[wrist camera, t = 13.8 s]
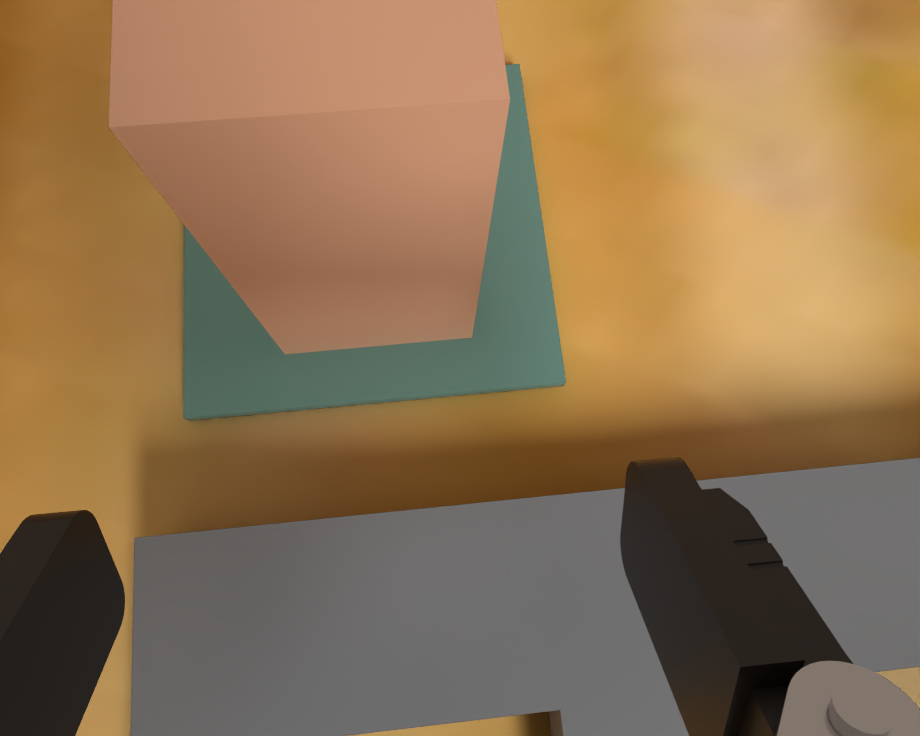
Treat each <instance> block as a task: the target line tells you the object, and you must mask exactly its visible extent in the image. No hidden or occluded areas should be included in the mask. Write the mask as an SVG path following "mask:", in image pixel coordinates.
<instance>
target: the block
mask: <svg viewBox="0 0 920 736" xmlns="http://www.w3.org/2000/svg"><path fill="white" fill-rule="evenodd" d="M509 103H510V95H509V88H508V81H507V74H506V67H505V60H504V53H503V46H502V39H501V32H500V25H499V18H498V11H497V4H496V0H113V9H112V39H111V69H110V99H109V129H110V130H111V131H112V132H113V134H114V135H115V136H116V138H117V139H118V140H119V141H120V143H121V144H122V145H123V147H124V148H125V149H126V150H127V152H128V153H129V154H130V156H131V157H132V158H133V159H134V161H135V162H136V163H137V165H138V166H139V167H140V168H141V170H142V171H143V172H144V174H145V175H146V176H147V177H148V179H149V180H150V181H151V183H152V184H153V185H154V186H155V188H156V189H157V190H158V192H159V193H160V194H161V195H162V197H163V198H164V199H165V201H166V202H167V203H168V205H169V206H170V207H171V208H172V210H173V211H174V212H175V214H176V215H177V216H178V217H179V219H180V220H181V221H182V223H183V224H184V225H185V226H186V228H187V229H188V230H189V232H190V233H191V234H192V235H193V237H194V238H195V239H196V241H197V242H198V243H199V244H200V246H201V247H202V248H203V250H204V251H205V252H206V253H207V255H208V256H209V257H210V259H211V260H212V261H213V262H214V264H215V265H216V266H217V268H218V269H219V270H220V271H221V273H222V274H223V275H224V277H225V278H226V279H227V280H228V282H229V283H230V284H231V286H232V287H233V288H234V289H235V291H236V292H237V293H238V295H239V296H240V297H241V298H242V300H243V301H244V302H245V304H246V305H247V306H248V307H249V309H250V310H251V311H252V313H253V314H254V315H255V316H256V318H257V319H258V320H259V322H260V323H261V324H262V325H263V327H264V328H265V329H266V331H267V332H268V333H269V334H270V336H271V337H272V338H273V340H274V341H275V342H276V343H277V345H278V346H279V347H280V349H281V350H282V351H283V352H284V354H294V353H306V352H317V351H328V350H339V349H350V348H361V347H372V346H383V345H395V344H406V343H417V342H428V341H439V340H450V339H461V338H472V335H473V328H474V322H475V316H476V310H477V303H478V297H479V291H480V285H481V278H482V272H483V266H484V260H485V253H486V247H487V241H488V235H489V228H490V222H491V216H492V210H493V203H494V197H495V191H496V185H497V178H498V172H499V166H500V160H501V153H502V147H503V141H504V135H505V128H506V122H507V116H508V110H509Z"/></svg>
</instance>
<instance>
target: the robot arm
mask: <svg viewBox="0 0 920 736" xmlns="http://www.w3.org/2000/svg"><path fill="white" fill-rule="evenodd" d="M620 547H621V556H622V562H623V566H624V570H625V574H626V577H627V579H628V582H629V584H630V587H631V590H632V592H633V595H634V597H635V600H636V602H637V605H638V607H639V610H640V612H641V615H642V617H643V620H644V623H645V625H646V628H647V630H648V633H649V635H650V638H651V640H652V643H653V645H654V648H655V650H656V653H657V655H658V658H659V661H660V663H661V666H662V668H663V671H664V673H665V676H666V678H667V681H668V683H669V686H670V688H671V691H672V694H673V696H674V699H675V701H676V704H677V706H678V709H679V711H680V714H681V716H682V719H683V721H684V724H685V726H686V729H687V732H688V734H689V736H920V708H919V707H918V706H917V705H916V704H915V703H914V701H913V700H912V699H911V698H910V697H909V696H908V695H907V694H906V693H905V692H903V691H902V690H901V689H900V688H899V687H897V686H896V685H895V684H893V683H892V682H891V681H889V680H888V679H886V678H884V677H882V676H881V675H879V674H877V673H875V672H873V671H871V670H869V669H866V668H864V667H861V666H858V665H855V664H853V662H852V661H851V660H850V658H849V657H848V656H847V655H846V653H845V652H844V650H843V649H842V647H841V646H840V644H839V643H838V641H837V640H836V638H835V637H834V635H833V634H832V632H831V631H830V629H829V628H828V626H827V625H826V623H825V622H824V620H823V619H822V617H821V616H820V615H819V613H818V612H817V610H816V609H815V607H814V606H813V604H812V603H811V601H810V600H809V598H808V597H807V595H806V594H805V592H804V591H803V589H802V588H801V586H800V585H799V583H798V582H797V580H796V579H795V577H794V576H793V574H792V573H791V572H790V570H789V569H788V567H787V566H785V567H784V565H783V560H782V558H781V557H780V555H779V554H778V552H777V551H776V549H775V548H774V546H773V545H772V543H768V540H767V536H766V534H765V533H764V531H763V530H762V529H761V527H760V526H759V524H758V523H757V521H756V520H755V518H754V517H753V515H752V514H751V512H750V511H749V510H748V509H747V508H746V507H744V506H743V505H742V504H740V503H739V502H738V501H736V500H735V499H734V498H732V497H731V496H730V495H729V494H727V493H726V492H725V491H723V490H722V489H721V488H713V489H701V487H700V486H699V484H698V482H697V481H696V479H695V478H694V476H693V474H692V473H691V471H690V469H689V468H688V466H687V464H686V463H685V462H684V461H683V460H682V459H681V458H678V457H677V458H666V459H655V460H644V461H633V462H630V464H629V465H628V468H627V473H626V483H625V493H624V503H623V513H622V523H621V533H620ZM124 608H125V594H124V588H123V584H122V581H121V578H120V576H119V573H118V571H117V568H116V566H115V564H114V561H113V559H112V556H111V554H110V552H109V549H108V547H107V544H106V542H105V540H104V537H103V535H102V532H101V530H100V527H99V525H98V523H97V520H96V518H95V517H94V515H93V514H92V513H91V512H89V511H87V510H80V511H69V512H58V513H47V514H36V515H30V516H29V517H27V518H26V519H24V520H23V522H22V523H21V524H20V526H19V527H18V528H17V530H16V531H15V533H14V534H13V536H12V537H11V539H10V540H9V542H8V543H7V545H6V546H5V548H4V549H3V551H2V552H1V554H0V736H75V735H76V732H77V730H78V727H79V725H80V723H81V720H82V718H83V715H84V713H85V711H86V708H87V706H88V703H89V701H90V699H91V696H92V694H93V691H94V689H95V687H96V684H97V682H98V679H99V677H100V675H101V672H102V670H103V667H104V665H105V663H106V660H107V658H108V655H109V653H110V651H111V648H112V646H113V643H114V641H115V639H116V636H117V634H118V631H119V629H120V626H121V624H122V620H123V615H124Z"/></svg>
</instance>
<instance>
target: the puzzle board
mask: <svg viewBox="0 0 920 736" xmlns="http://www.w3.org/2000/svg"><path fill="white" fill-rule="evenodd" d="M697 482H698V484H699V486H700V487H701V489H713V488H721V489H722V490H723V491H725V492H726V493H727V494H729V495H730V496H731V497H732V498H734V499H735V500H736V501H738V502H739V503H740V504H742V505H743V506H744V507H746V508H747V509H748V510H749V511H750V512H751V514H752V515H753V517H754V518H755V520H756V521H757V523H758V524H759V526H760V527H761V529H762V530H763V531H764V533H765V534H766V536H767V540H768V543H772V545H773V546H774V548H775V549H776V551H777V552H778V554H779V555H780V557H781V558H782V560H783V565H784V567H785V566H787V567H788V569H789V570H790V572H791V573H792V574H793V576H794V577H795V579H796V580H797V582H798V583H799V585H800V586H801V588H802V589H803V591H804V592H805V594H806V595H807V597H808V598H809V600H810V601H811V603H812V604H813V606H814V607H815V609H816V610H817V612H818V613H819V615H820V616H821V617H822V619H823V620H824V622H825V623H826V625H827V626H828V628H829V629H830V631H831V632H832V634H833V635H834V637H835V638H836V640H837V641H838V643H839V644H840V646H841V647H842V649H843V650H844V652H845V653H846V655H847V656H848V657H849V658H850V660H851V661H852V662H853V664H855V665H858V666H861V667H864V668H866V669H869V670H871V671H873V672H880V671H888V670H896V669H905V668H913V667H920V458H913V459H904V460H894V461H884V462H874V463H864V464H855V465H845V466H835V467H825V468H815V469H806V470H796V471H786V472H776V473H766V474H757V475H747V476H737V477H727V478H717V479H708V480H698V481H697ZM624 493H625V488H619V489H610V490H600V491H590V492H580V493H570V494H561V495H551V496H541V497H531V498H521V499H512V500H502V501H492V502H482V503H472V504H463V505H453V506H443V507H433V508H423V509H414V510H404V511H394V512H384V513H374V514H365V515H355V516H345V517H335V518H325V519H316V520H306V521H296V522H286V523H276V524H266V525H257V526H247V527H237V528H227V529H217V530H208V531H198V532H188V533H178V534H168V535H159V536H149V537H139V538H135V541H134V590H133V638H132V687H131V735H130V736H348V735H356V734H364V733H373V732H381V731H389V730H398V729H406V728H414V727H423V726H431V725H439V724H448V723H456V722H464V721H472V720H481V719H489V718H497V717H506V716H514V715H522V714H531V713H539V712H547V711H548V713H549V721H550V729H551V736H689V734H688V732H687V729H686V726H685V724H684V721H683V719H682V716H681V714H680V711H679V709H678V706H677V704H676V701H675V699H674V696H673V694H672V691H671V688H670V686H669V683H668V681H667V678H666V676H665V673H664V671H663V668H662V666H661V663H660V661H659V658H658V655H657V653H656V650H655V648H654V645H653V643H652V640H651V638H650V635H649V633H648V630H647V628H646V625H645V623H644V620H643V617H642V615H641V612H640V610H639V607H638V605H637V602H636V600H635V597H634V595H633V592H632V590H631V587H630V584H629V582H628V579H627V577H626V574H625V570H624V566H623V562H622V556H621V547H620V533H621V523H622V513H623V503H624Z"/></svg>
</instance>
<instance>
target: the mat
mask: <svg viewBox="0 0 920 736" xmlns="http://www.w3.org/2000/svg"><path fill="white" fill-rule="evenodd" d="M505 67H506V74H507V81H508V88H509V95H510V103H509V110H508V116H507V122H506V128H505V135H504V141H503V147H502V153H501V160H500V166H499V172H498V178H497V185H496V191H495V197H494V203H493V210H492V216H491V222H490V228H489V235H488V241H487V247H486V253H485V260H484V266H483V272H482V278H481V285H480V291H479V297H478V303H477V310H476V316H475V322H474V328H473V335H472V338H461V339H450V340H439V341H428V342H417V343H406V344H395V345H383V346H372V347H361V348H350V349H339V350H328V351H317V352H306V353H294V354H284V352H283V351H282V350H281V349H280V347H279V346H278V345H277V343H276V342H275V341H274V340H273V338H272V337H271V336H270V334H269V333H268V332H267V331H266V329H265V328H264V327H263V325H262V324H261V323H260V322H259V320H258V319H257V318H256V316H255V315H254V314H253V313H252V311H251V310H250V309H249V307H248V306H247V305H246V304H245V302H244V301H243V300H242V298H241V297H240V296H239V295H238V293H237V292H236V291H235V289H234V288H233V287H232V286H231V284H230V283H229V282H228V280H227V279H226V278H225V277H224V275H223V274H222V273H221V271H220V270H219V269H218V268H217V266H216V265H215V264H214V262H213V261H212V260H211V259H210V257H209V256H208V255H207V253H206V252H205V251H204V250H203V248H202V247H201V246H200V244H199V243H198V242H197V241H196V239H195V238H194V237H193V235H192V234H191V233H190V232H189V230H188V229H187V228H186V226H185V225H184V418H185V419H187V420H189V421H190V420H201V419H212V418H223V417H233V416H244V415H255V414H266V413H276V412H287V411H298V410H309V409H320V408H330V407H341V406H352V405H363V404H373V403H384V402H395V401H406V400H416V399H427V398H438V397H449V396H460V395H470V394H481V393H492V392H503V391H513V390H524V389H535V388H546V387H556V386H564V384H565V383H566V379H565V372H564V365H563V358H562V351H561V345H560V338H559V331H558V324H557V317H556V310H555V304H554V297H553V290H552V283H551V276H550V269H549V263H548V256H547V249H546V242H545V235H544V229H543V222H542V215H541V208H540V201H539V194H538V188H537V181H536V174H535V167H534V160H533V153H532V147H531V140H530V133H529V126H528V119H527V113H526V106H525V99H524V92H523V85H522V78H521V72H520V65H519V64H513V65H505Z"/></svg>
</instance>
